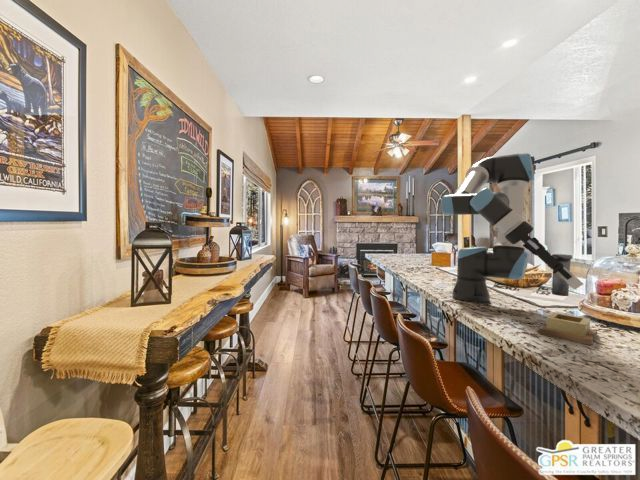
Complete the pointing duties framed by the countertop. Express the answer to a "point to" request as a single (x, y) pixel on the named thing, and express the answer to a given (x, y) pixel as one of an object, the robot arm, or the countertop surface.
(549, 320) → the square socket frame
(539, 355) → the countertop surface
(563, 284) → the pin
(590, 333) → the socket base
